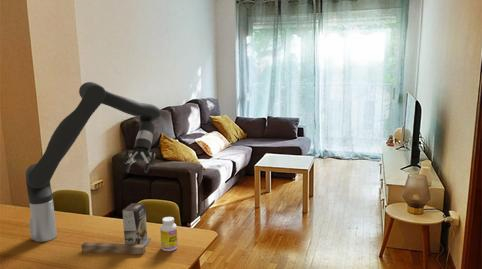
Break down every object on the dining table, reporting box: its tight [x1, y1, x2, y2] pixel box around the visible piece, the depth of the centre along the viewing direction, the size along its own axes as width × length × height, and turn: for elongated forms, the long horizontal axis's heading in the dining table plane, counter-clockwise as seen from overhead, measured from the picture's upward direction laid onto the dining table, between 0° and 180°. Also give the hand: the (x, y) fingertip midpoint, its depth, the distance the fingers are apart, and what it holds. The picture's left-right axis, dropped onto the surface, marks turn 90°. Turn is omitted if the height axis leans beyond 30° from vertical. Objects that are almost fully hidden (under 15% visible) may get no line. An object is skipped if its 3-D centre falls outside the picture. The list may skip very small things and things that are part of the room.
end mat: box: [142, 237, 152, 248], centre depth 168 cm, size 9×10×1 cm
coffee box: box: [122, 202, 148, 245], centre depth 166 cm, size 9×6×16 cm
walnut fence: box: [81, 241, 146, 255], centre depth 161 cm, size 26×2×3 cm, turn 84°
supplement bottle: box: [159, 216, 178, 252], centre depth 163 cm, size 7×7×13 cm
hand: (136, 171), depth 180 cm, fingers open, 8 cm apart
